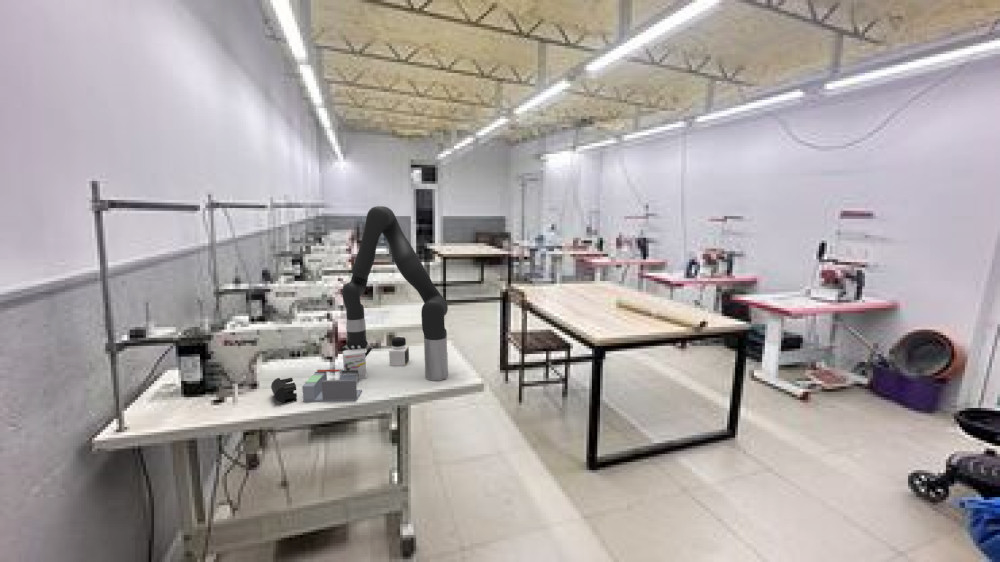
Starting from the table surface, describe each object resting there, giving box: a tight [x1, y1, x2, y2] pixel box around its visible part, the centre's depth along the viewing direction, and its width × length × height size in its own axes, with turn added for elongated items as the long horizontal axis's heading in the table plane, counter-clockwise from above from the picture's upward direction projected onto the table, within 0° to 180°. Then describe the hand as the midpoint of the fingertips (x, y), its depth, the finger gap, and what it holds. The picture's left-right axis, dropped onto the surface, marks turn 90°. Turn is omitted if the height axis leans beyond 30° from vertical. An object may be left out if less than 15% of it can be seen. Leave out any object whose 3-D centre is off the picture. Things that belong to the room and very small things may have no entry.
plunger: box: [316, 368, 360, 386], centre depth 168 cm, size 15×4×6 cm, turn 93°
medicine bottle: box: [388, 335, 410, 367], centre depth 193 cm, size 7×7×12 cm
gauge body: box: [301, 371, 363, 403], centre depth 162 cm, size 19×14×8 cm
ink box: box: [342, 348, 368, 381], centre depth 176 cm, size 8×5×12 cm, turn 113°
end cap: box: [270, 377, 298, 405], centre depth 158 cm, size 10×7×7 cm
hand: (358, 368), depth 181 cm, fingers closed
